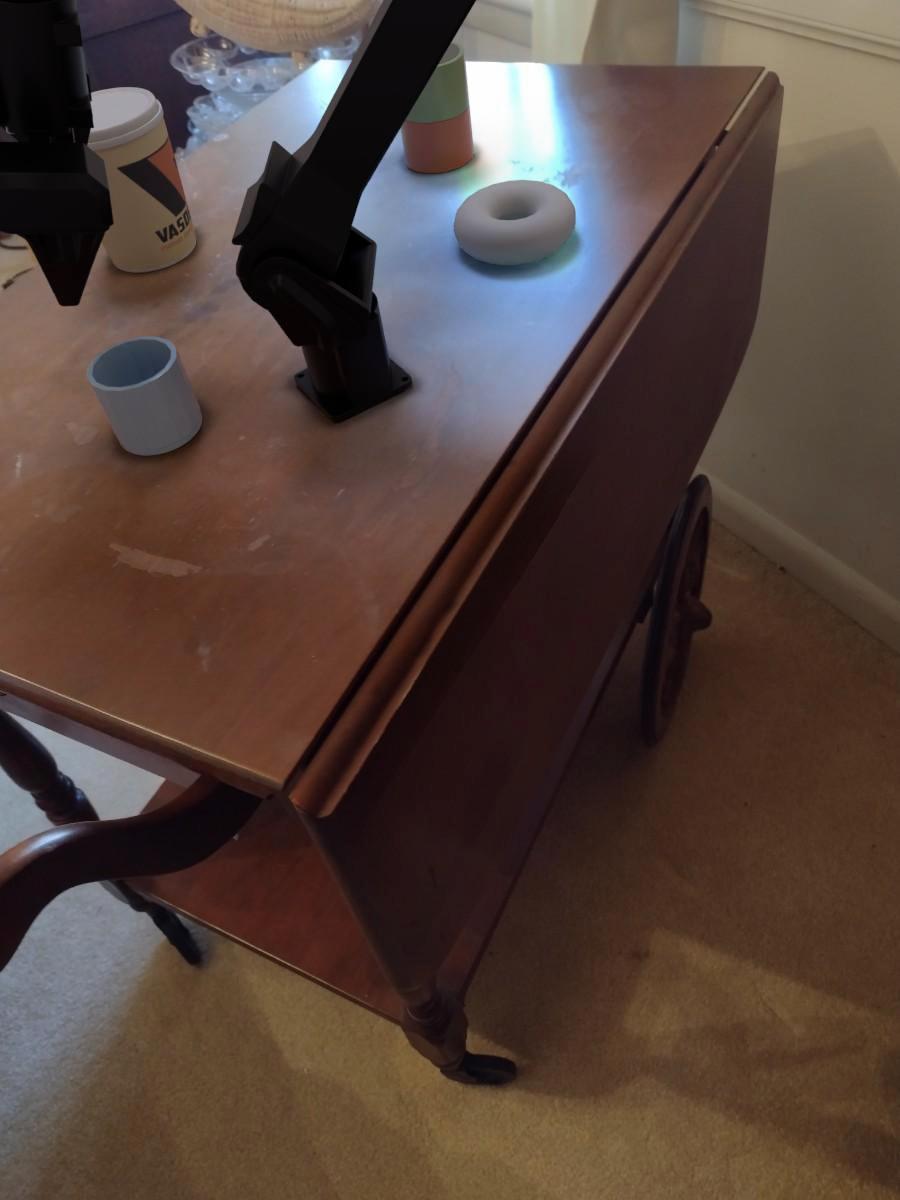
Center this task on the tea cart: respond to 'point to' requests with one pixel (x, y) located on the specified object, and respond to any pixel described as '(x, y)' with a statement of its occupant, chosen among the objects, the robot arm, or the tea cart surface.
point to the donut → (514, 222)
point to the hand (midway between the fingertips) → (64, 264)
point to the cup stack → (441, 119)
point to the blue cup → (145, 395)
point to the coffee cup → (140, 181)
